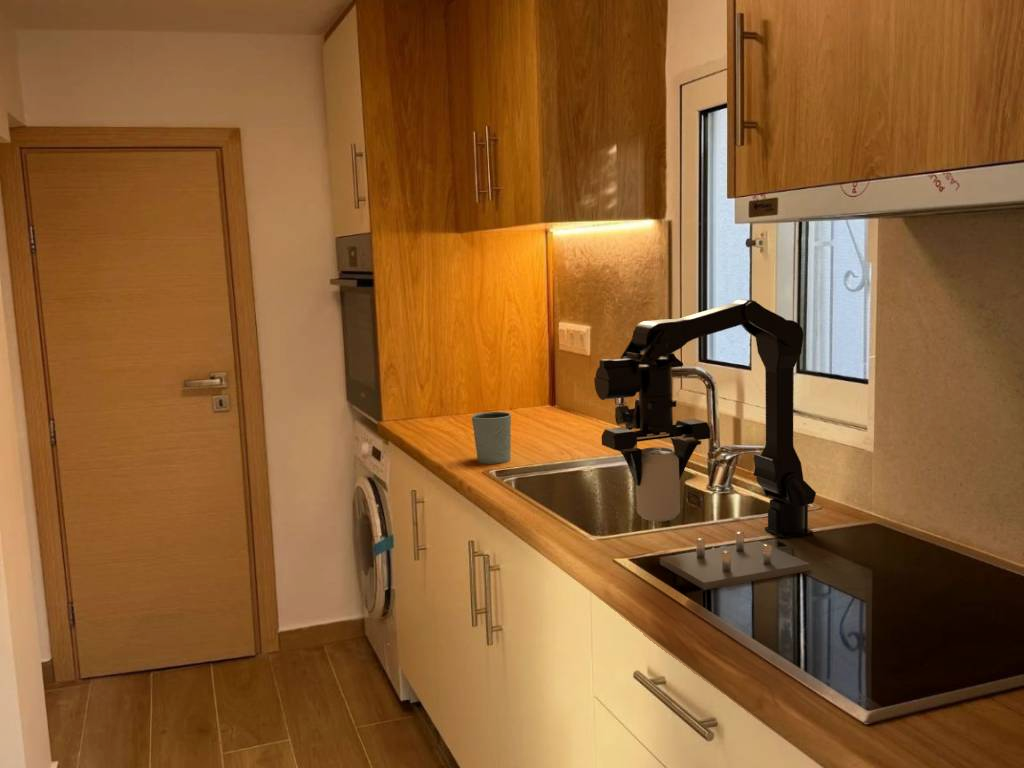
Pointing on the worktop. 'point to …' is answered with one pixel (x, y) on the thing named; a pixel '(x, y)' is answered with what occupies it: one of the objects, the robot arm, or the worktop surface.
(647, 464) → the can
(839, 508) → the worktop surface
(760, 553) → the pin tray
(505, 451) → the grey-blue cup
